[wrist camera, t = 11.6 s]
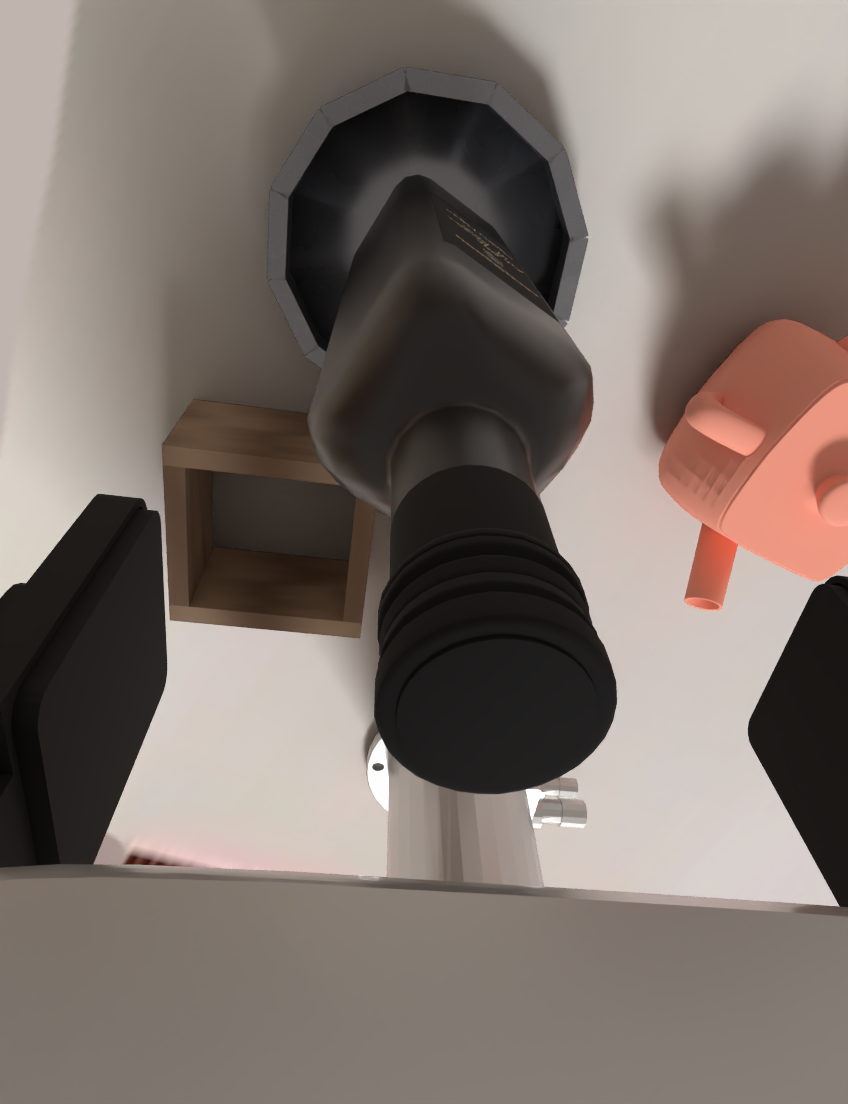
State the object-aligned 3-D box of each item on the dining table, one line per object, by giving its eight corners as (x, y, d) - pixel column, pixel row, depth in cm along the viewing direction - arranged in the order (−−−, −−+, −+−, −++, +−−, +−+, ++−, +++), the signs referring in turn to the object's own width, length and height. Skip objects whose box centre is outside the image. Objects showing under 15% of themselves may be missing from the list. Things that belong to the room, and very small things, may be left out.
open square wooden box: (382, 422, 40) (380, 470, 35) (364, 576, 45) (359, 638, 40) (193, 399, 39) (162, 445, 34) (196, 559, 44) (169, 620, 39)
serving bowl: (605, 102, 32) (620, 103, 30) (535, 406, 40) (543, 424, 37) (282, 47, 31) (274, 44, 29) (271, 372, 38) (263, 389, 36)
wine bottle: (409, 161, 32) (442, 413, 7) (511, 240, 34) (832, 667, 9) (341, 273, 35) (182, 766, 9) (440, 341, 37) (531, 909, 11)
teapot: (850, 512, 44) (961, 614, 35) (647, 547, 45) (707, 655, 36) (882, 260, 36) (1032, 310, 28) (638, 309, 37) (710, 372, 29)
